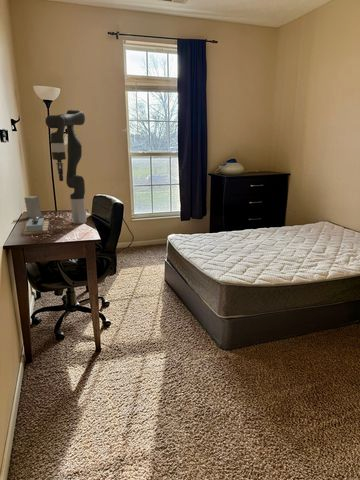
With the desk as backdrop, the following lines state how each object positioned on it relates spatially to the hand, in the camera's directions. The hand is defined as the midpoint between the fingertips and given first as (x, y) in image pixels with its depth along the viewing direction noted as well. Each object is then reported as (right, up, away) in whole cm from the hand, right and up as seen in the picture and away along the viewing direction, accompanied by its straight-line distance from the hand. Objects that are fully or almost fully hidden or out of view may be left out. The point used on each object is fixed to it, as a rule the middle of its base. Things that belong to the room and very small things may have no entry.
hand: (61, 180), depth 195 cm
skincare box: (-39, -19, +51) cm, 67 cm away
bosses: (-23, -27, +17) cm, 39 cm away
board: (-23, -28, +18) cm, 41 cm away
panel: (-22, -28, +14) cm, 38 cm away
